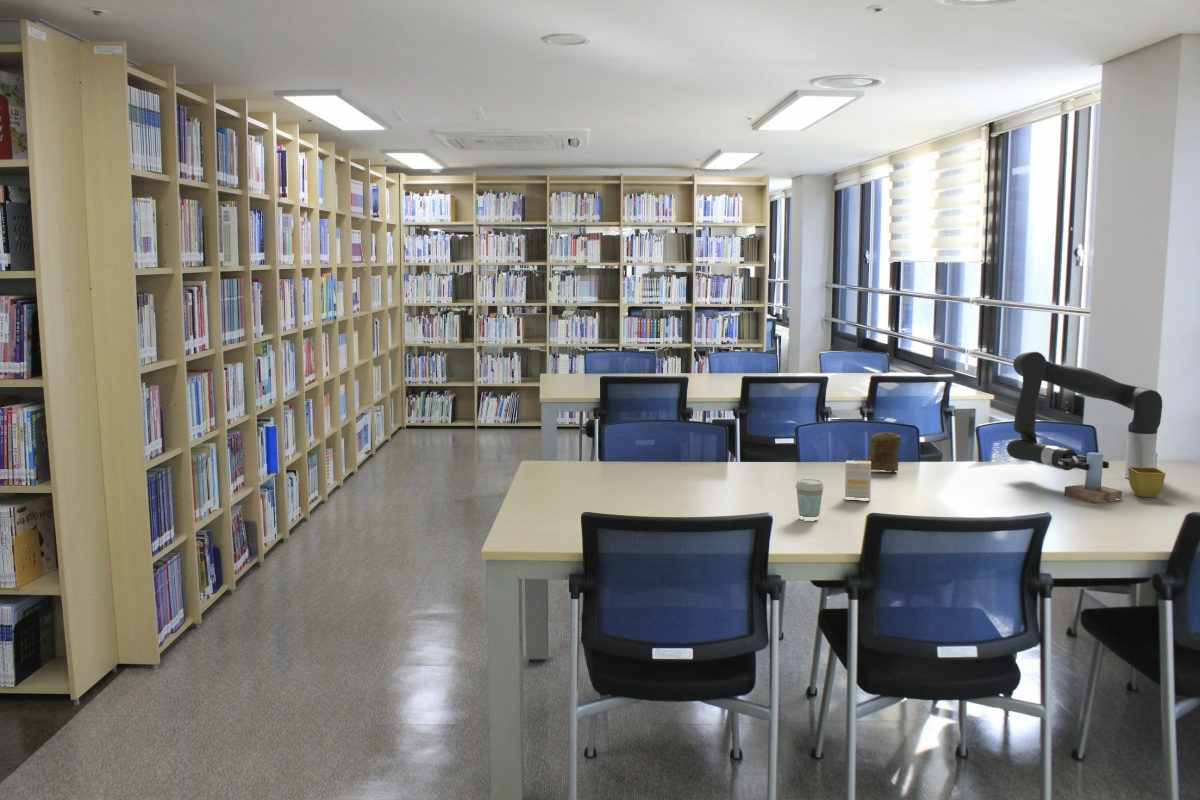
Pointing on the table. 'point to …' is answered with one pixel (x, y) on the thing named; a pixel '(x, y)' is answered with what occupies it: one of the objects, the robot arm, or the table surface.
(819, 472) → the table surface
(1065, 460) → the robot arm
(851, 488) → the supplement box
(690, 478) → the table surface
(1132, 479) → the flower pot
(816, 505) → the coffee cup
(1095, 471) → the pale blue tumbler
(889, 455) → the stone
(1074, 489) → the stand
